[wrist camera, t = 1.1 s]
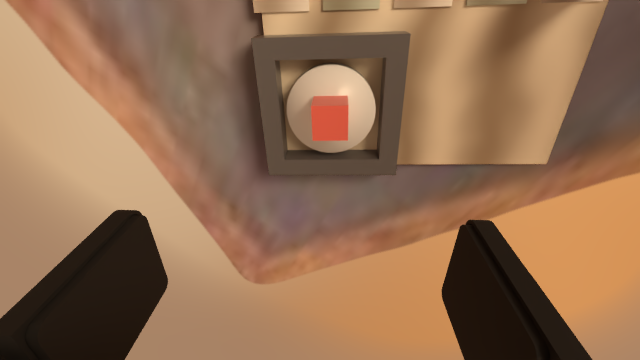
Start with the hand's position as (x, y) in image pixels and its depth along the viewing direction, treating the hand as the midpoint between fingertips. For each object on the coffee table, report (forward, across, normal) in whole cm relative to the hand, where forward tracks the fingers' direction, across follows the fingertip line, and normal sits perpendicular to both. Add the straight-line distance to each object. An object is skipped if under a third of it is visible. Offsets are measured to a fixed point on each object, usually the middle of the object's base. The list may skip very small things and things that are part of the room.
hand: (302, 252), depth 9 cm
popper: (+19, -1, +1) cm, 19 cm away
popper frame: (+18, -1, +1) cm, 18 cm away
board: (+19, -8, -3) cm, 21 cm away
